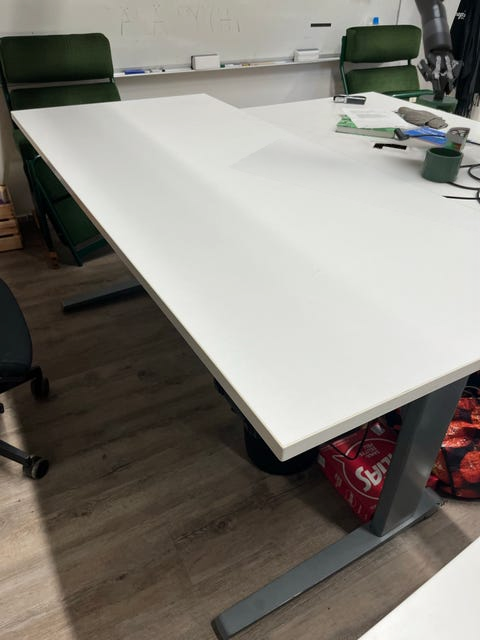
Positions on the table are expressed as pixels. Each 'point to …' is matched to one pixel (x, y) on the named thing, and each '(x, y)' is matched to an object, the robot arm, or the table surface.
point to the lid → (439, 95)
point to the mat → (397, 146)
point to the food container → (457, 138)
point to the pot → (441, 164)
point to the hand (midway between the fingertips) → (443, 93)
